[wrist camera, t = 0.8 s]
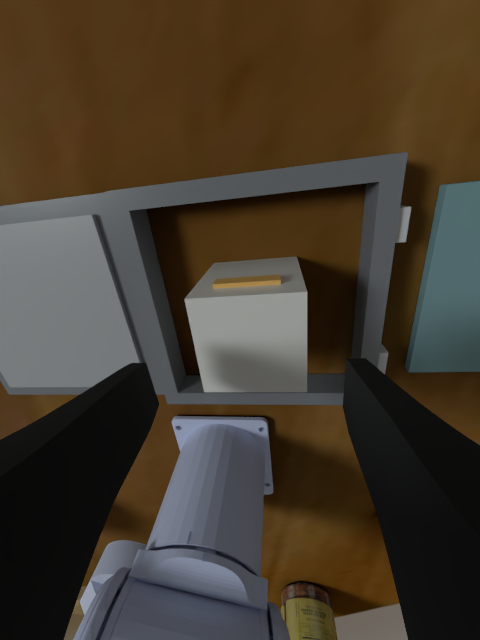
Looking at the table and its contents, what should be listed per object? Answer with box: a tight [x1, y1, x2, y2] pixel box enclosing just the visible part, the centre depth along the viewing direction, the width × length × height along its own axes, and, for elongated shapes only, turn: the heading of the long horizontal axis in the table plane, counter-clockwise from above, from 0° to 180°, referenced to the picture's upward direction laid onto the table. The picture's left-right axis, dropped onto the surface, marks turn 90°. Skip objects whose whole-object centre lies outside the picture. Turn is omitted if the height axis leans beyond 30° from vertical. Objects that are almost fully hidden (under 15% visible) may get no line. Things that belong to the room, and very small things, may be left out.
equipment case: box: [0, 152, 411, 405], centre depth 17 cm, size 14×29×2 cm, turn 96°
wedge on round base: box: [80, 540, 147, 615], centre depth 34 cm, size 9×7×13 cm
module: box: [184, 257, 307, 392], centre depth 14 cm, size 5×5×6 cm
